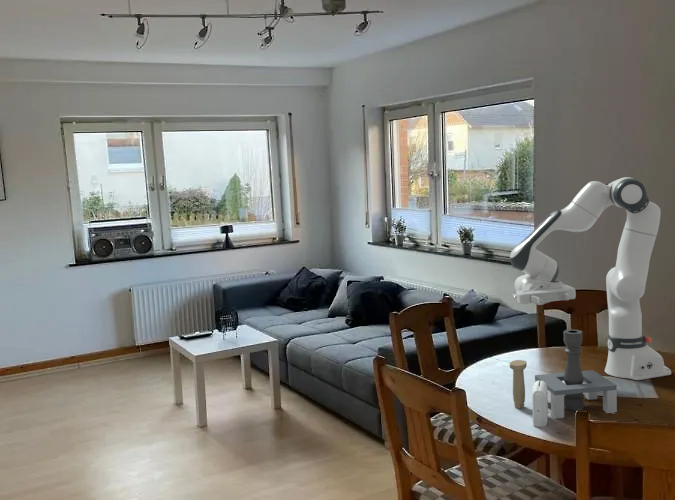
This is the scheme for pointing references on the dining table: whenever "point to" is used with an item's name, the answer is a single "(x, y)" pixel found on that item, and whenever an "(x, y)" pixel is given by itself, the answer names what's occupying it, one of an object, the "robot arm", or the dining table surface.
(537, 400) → the photo printer
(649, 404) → the dining table surface
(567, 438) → the dining table surface
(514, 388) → the handle
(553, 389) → the hole stand
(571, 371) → the candle holder
